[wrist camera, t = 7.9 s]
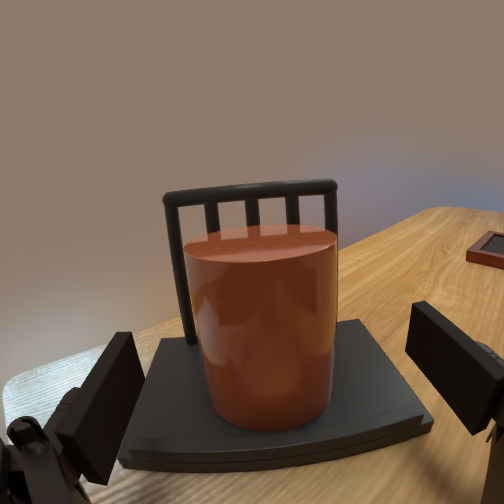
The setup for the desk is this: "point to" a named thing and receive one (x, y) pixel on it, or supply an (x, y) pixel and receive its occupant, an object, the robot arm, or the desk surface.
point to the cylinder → (266, 321)
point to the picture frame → (488, 250)
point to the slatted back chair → (196, 391)
